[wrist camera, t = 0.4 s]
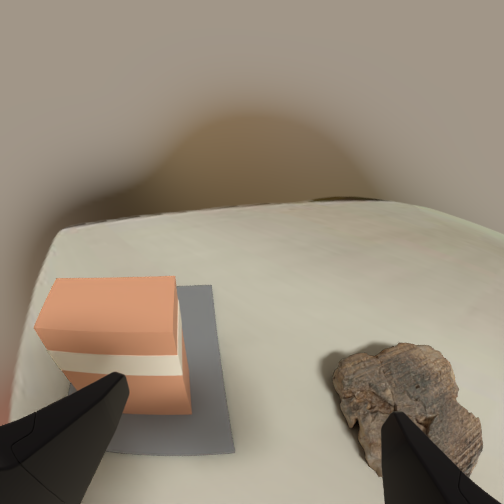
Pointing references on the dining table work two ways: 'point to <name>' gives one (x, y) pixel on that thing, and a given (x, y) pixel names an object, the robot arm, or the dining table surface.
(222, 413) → the mat
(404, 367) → the weathered wood piece
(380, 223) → the dining table surface
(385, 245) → the dining table surface
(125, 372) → the tall box
